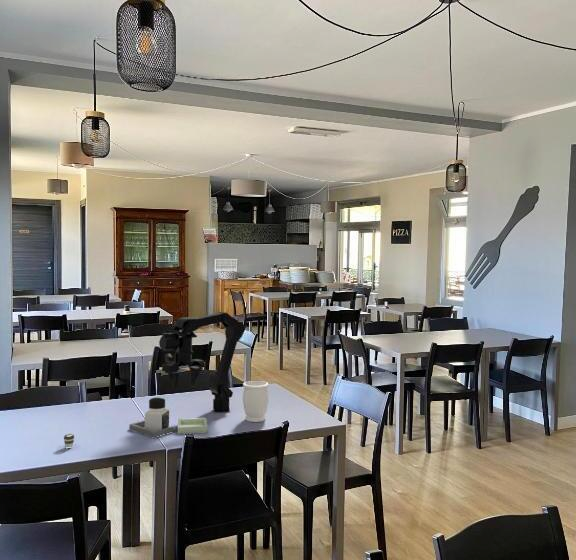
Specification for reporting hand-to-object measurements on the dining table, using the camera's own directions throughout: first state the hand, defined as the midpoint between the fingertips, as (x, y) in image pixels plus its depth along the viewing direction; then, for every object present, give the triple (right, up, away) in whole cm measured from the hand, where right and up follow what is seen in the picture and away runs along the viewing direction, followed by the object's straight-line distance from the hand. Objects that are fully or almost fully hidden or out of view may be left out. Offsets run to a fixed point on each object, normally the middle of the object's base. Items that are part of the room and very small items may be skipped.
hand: (183, 386), depth 233 cm
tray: (+6, -14, -13) cm, 20 cm away
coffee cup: (-33, -15, -35) cm, 51 cm away
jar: (+29, -14, +1) cm, 33 cm away
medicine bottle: (-8, -14, -14) cm, 21 cm away
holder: (-9, -14, -16) cm, 23 cm away
